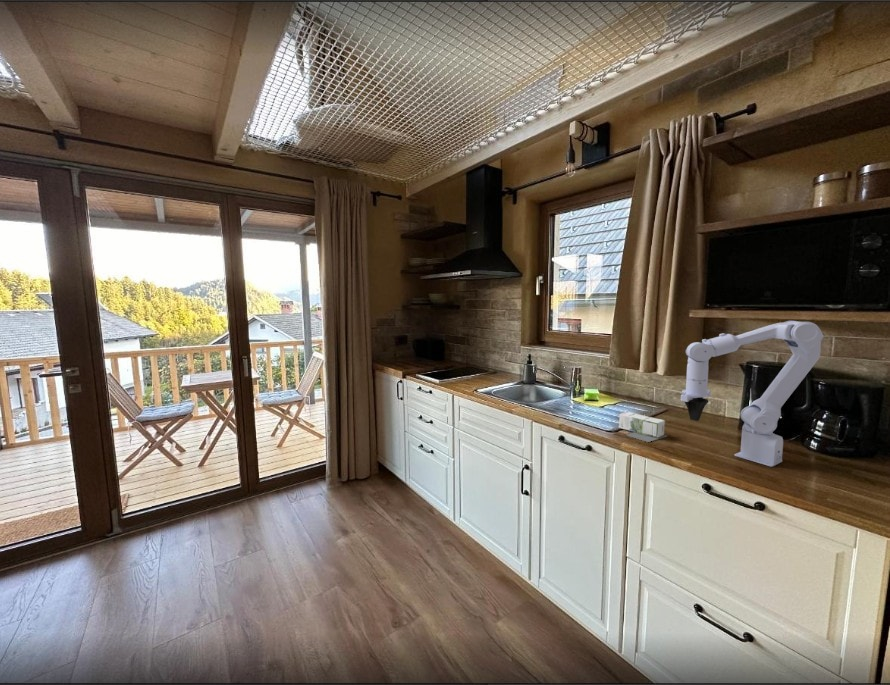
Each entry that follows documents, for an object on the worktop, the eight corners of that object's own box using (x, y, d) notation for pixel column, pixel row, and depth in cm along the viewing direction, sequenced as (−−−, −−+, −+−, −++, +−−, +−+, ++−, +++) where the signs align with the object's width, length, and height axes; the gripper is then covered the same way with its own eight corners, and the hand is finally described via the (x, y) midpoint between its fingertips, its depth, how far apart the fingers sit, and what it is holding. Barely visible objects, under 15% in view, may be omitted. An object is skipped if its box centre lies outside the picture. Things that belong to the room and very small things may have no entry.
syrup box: (665, 419, 132) (626, 411, 144) (657, 423, 129) (618, 413, 140) (664, 435, 133) (625, 425, 144) (657, 438, 129) (617, 428, 141)
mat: (667, 436, 132) (667, 435, 132) (648, 442, 126) (648, 441, 126) (645, 429, 140) (645, 428, 140) (625, 435, 134) (625, 434, 134)
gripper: (695, 375, 124) (693, 413, 125) (671, 379, 117) (669, 420, 118) (718, 378, 118) (716, 418, 119) (695, 383, 111) (692, 426, 112)
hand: (694, 419), depth 118 cm, fingers closed
